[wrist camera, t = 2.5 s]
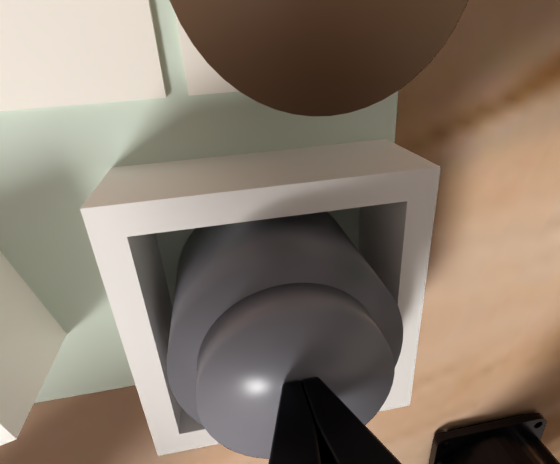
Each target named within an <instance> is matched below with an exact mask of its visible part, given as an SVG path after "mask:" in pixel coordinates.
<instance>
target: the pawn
mask: <svg viewBox="0 0 560 464" xmlns="http://www.w3.org/2000/svg"><path fill="white" fill-rule="evenodd" d="M169 1H170V3H171V5H172V7H173V9H174V11H175V14H176V16H177V18H178V20H179V22H180V24H181V26H182V27H183V29H184V31H185V32H186V34H187V36H188V37H189V39H190V40H191V42H192V44H193V45H194V47H195V48H196V49H197V50H198V52H199V53H200V54H201V55H202V57H203V58H204V59H205V61H206V62H207V63H208V64H209V65H210V66H211V67H212V68H213V69H214V70H215V71H216V72H217V73H218V74H219V75H220V76H221V77H222V78H223V79H224V80H225V81H227V82H228V83H229V84H230V85H232V86H233V87H234V88H236V89H237V90H238V91H240V92H241V93H243V94H244V95H246V96H248V97H250V98H251V99H253V100H255V101H256V102H258V103H261V104H263V105H266V106H268V107H270V108H273V109H275V110H279V111H283V112H286V113H290V114H295V115H303V116H312V117H313V116H334V115H340V114H346V113H350V112H354V111H357V110H360V109H363V108H366V107H369V106H371V105H373V104H375V103H377V102H380V101H382V100H384V99H385V98H387V97H389V96H390V95H392V94H393V93H395V92H397V91H398V90H400V89H401V88H402V87H404V86H405V85H406V84H407V83H409V82H410V81H411V80H412V79H414V78H415V77H416V76H417V75H418V74H419V73H420V72H421V71H422V70H423V69H424V68H425V67H426V66H427V65H428V64H429V63H430V62H431V60H432V59H433V58H434V57H435V55H436V54H437V53H438V52H439V50H440V49H441V48H442V47H443V45H444V44H445V42H446V41H447V39H448V38H449V36H450V34H451V33H452V31H453V30H454V28H455V27H456V25H457V23H458V21H459V19H460V17H461V15H462V13H463V11H464V9H465V7H466V5H467V2H468V0H169Z"/></svg>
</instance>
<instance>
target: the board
mask: <svg viewBox="0 0 560 464" xmlns="http://www.w3.org/2000/svg"><path fill="white" fill-rule="evenodd" d="M397 103H398V91H397V92H395V93H393V94H392V95H390V96H389V97H387V98H385V99H384V100H382V101H380V102H377V103H375V104H373V105H371V106H369V107H366V108H363V109H360V110H357V111H354V112H350V113H346V114H340V115H334V116H313V117H312V116H303V115H295V114H290V113H286V112H283V111H279V110H275V109H273V108H270V107H268V106H266V105H263V104H261V103H258V102H256V101H255V100H253V99H251V98H250V97H248V96H246V95H244V94H243V93H241V92H240V91H238V90H237V89H236V88H234V87H233V86H232V85H230V84H229V83H228V82H227V81H225V80H224V79H223V78H222V77H221V76H220V75H219V74H218V73H217V72H216V71H215V70H214V69H213V68H212V67H211V66H210V65H209V64H208V63H207V62H206V61H205V59H204V58H203V57H202V55H201V54H200V53H199V52H198V50H197V49H196V48H195V47H194V45H193V44H192V42H191V40H190V39H189V37H188V36H187V34H186V32H185V31H184V29H183V27H182V26H181V24H180V22H179V20H178V18H177V16H176V14H175V11H174V9H173V7H172V5H171V3H170V1H169V0H0V251H1V253H2V254H3V255H4V256H5V258H6V259H7V260H8V261H9V263H10V264H11V265H12V266H13V268H14V269H15V270H16V271H17V273H18V274H19V275H20V276H21V278H22V279H23V280H24V281H25V282H26V284H27V285H28V286H29V287H30V289H31V290H32V291H33V292H34V294H35V295H36V296H37V297H38V299H39V300H40V301H41V302H42V304H43V305H44V306H45V307H46V309H47V310H48V311H49V312H50V314H51V315H52V316H53V317H54V319H55V320H56V321H57V322H58V324H59V325H60V326H61V327H62V329H63V330H64V331H65V332H66V334H67V335H66V337H65V339H64V341H63V344H62V346H61V348H60V350H59V352H58V354H57V356H56V358H55V360H54V362H53V364H52V367H51V369H50V371H49V373H48V375H47V377H46V379H45V381H44V383H43V385H42V387H41V390H40V392H39V394H38V396H37V398H36V400H35V402H34V403H39V402H44V401H50V400H56V399H61V398H67V397H73V396H78V395H84V394H90V393H95V392H101V391H107V390H112V389H118V388H124V387H129V386H135V385H136V388H137V392H138V395H139V398H140V401H141V404H142V407H143V411H144V414H145V417H146V420H147V423H148V426H149V430H150V433H151V436H152V439H153V442H154V445H155V449H156V452H157V455H158V456H161V455H166V454H171V453H176V452H181V451H186V450H191V449H196V448H201V447H206V446H211V445H216V444H220V443H218V442H217V441H216V440H215V439H214V438H213V437H211V436H210V434H209V433H208V432H207V431H206V429H205V428H204V426H202V425H201V424H199V423H198V422H196V421H195V420H194V419H193V418H192V417H190V416H189V415H188V414H187V413H186V412H185V411H184V409H183V408H182V407H181V406H180V405H179V403H178V402H177V400H176V398H175V396H174V395H173V393H172V390H171V387H170V384H169V381H168V375H167V351H168V343H169V335H170V327H171V318H172V310H173V302H174V294H175V285H176V277H177V269H178V263H179V258H180V255H181V252H182V250H183V247H184V245H185V243H186V241H187V239H188V238H189V236H190V235H191V234H192V232H193V231H194V229H195V228H201V227H209V226H216V225H224V224H232V223H240V222H248V221H256V220H263V219H271V218H279V217H287V216H295V215H303V214H311V213H318V212H326V211H327V212H328V213H329V214H330V215H331V216H332V217H333V218H334V219H335V220H336V222H337V223H338V224H339V225H340V227H341V228H342V229H343V231H344V232H345V233H346V235H347V236H348V237H349V239H350V240H351V241H352V243H353V244H354V245H355V247H356V248H357V249H358V251H359V252H360V253H361V254H362V256H363V257H364V258H365V260H366V261H367V262H368V264H369V265H370V266H371V268H372V269H373V270H374V272H375V273H376V274H377V276H378V277H379V278H380V280H381V281H382V282H383V284H384V285H385V286H386V288H387V289H388V290H389V292H390V293H391V294H392V296H393V297H394V299H395V301H396V303H397V305H398V307H399V310H400V314H401V317H402V323H403V343H402V348H401V353H400V356H399V359H398V362H397V364H396V366H395V374H394V380H393V384H392V387H391V390H390V393H389V395H388V397H387V399H386V401H385V402H384V404H383V405H382V407H381V408H380V410H379V411H384V410H389V409H394V408H399V407H404V406H409V405H410V401H411V393H412V385H413V378H414V370H415V362H416V355H417V347H418V339H419V331H420V324H421V316H422V308H423V301H424V293H425V285H426V278H427V270H428V262H429V255H430V247H431V239H432V232H433V224H434V216H435V209H436V201H437V193H438V186H439V178H440V170H441V167H440V166H438V165H436V164H434V163H432V162H430V161H428V160H427V159H425V158H423V157H421V156H419V155H417V154H415V153H413V152H411V151H409V150H407V149H405V148H403V147H401V146H399V145H397V144H395V130H396V117H397ZM379 411H378V412H379Z"/></svg>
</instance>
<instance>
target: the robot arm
mask: <svg viewBox="0 0 560 464" xmlns="http://www.w3.org/2000/svg"><path fill="white" fill-rule="evenodd" d="M546 422H547V421H546V419H545V418H544V417H543V416H542V415H541V414H540V413H538V412H537V413H531V414H526V415H521V416H517V417H512V418H507V419H503V420H498V421H493V422H489V423H484V424H479V425H475V426H470V427H465V428H461V429H456V430H451V431H447V432H442V433H439V434H438V435H436V436H435V437H434V439H433V443H432V448H431V454H430V460H429V464H560V463H559V462H558V460H557V459H556V458H555V457H554V456H553V455H552V453H551V452H550V451H549V450H548V449H547V448H546V446H545V445H544V444H543V443H542V442H541V440H540V439H541V436H542V434H543V431H544V428H545V426H546ZM269 464H401V463H400V461H399V460H398V459H397V458H396V457H395V456H394V455H393V454H392V453H391V452H390V451H389V450H388V449H387V448H386V447H385V446H384V445H383V444H382V443H381V442H380V441H379V439H378V438H377V437H376V436H375V435H374V434H373V433H372V432H371V431H370V430H369V429H368V428H367V427H366V426H365V425H364V424H363V423H362V422H361V421H360V420H359V419H358V417H357V416H356V415H355V414H354V413H353V412H352V411H351V410H350V409H349V408H348V407H347V406H346V405H345V404H344V403H343V402H342V401H341V400H340V399H339V398H338V397H337V396H336V394H335V393H334V392H333V391H332V390H331V389H330V388H329V387H328V386H327V385H326V384H325V383H324V382H323V381H322V380H321V379H320V378H319V377H311V378H306V379H302V380H301V382H300V381H299V380H295V381H289V382H285V383H283V385H282V389H281V395H280V401H279V407H278V412H277V418H276V424H275V430H274V435H273V441H272V447H271V452H270V458H269Z"/></svg>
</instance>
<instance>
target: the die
mask: <svg viewBox="0 0 560 464" xmlns="http://www.w3.org/2000/svg"><path fill="white" fill-rule="evenodd" d="M66 335H67V334H66V332H65V331H64V330H63V329H62V327H61V326H60V325H59V324H58V322H57V321H56V320H55V319H54V317H53V316H52V315H51V314H50V312H49V311H48V310H47V309H46V307H45V306H44V305H43V304H42V302H41V301H40V300H39V299H38V297H37V296H36V295H35V294H34V292H33V291H32V290H31V289H30V287H29V286H28V285H27V284H26V282H25V281H24V280H23V279H22V278H21V276H20V275H19V274H18V273H17V271H16V270H15V269H14V268H13V266H12V265H11V264H10V263H9V261H8V260H7V259H6V258H5V256H4V255H3V254H2V253H1V251H0V446H1V445H3V444H6V443H8V442H11V441H14V440H16V439H17V438H18V436H19V434H20V431H21V429H22V427H23V425H24V423H25V421H26V419H27V417H28V415H29V413H30V410H31V408H32V406H33V404H34V402H35V400H36V398H37V396H38V394H39V392H40V390H41V387H42V385H43V383H44V381H45V379H46V377H47V375H48V373H49V371H50V369H51V367H52V364H53V362H54V360H55V358H56V356H57V354H58V352H59V350H60V348H61V346H62V344H63V341H64V339H65V337H66Z"/></svg>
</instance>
